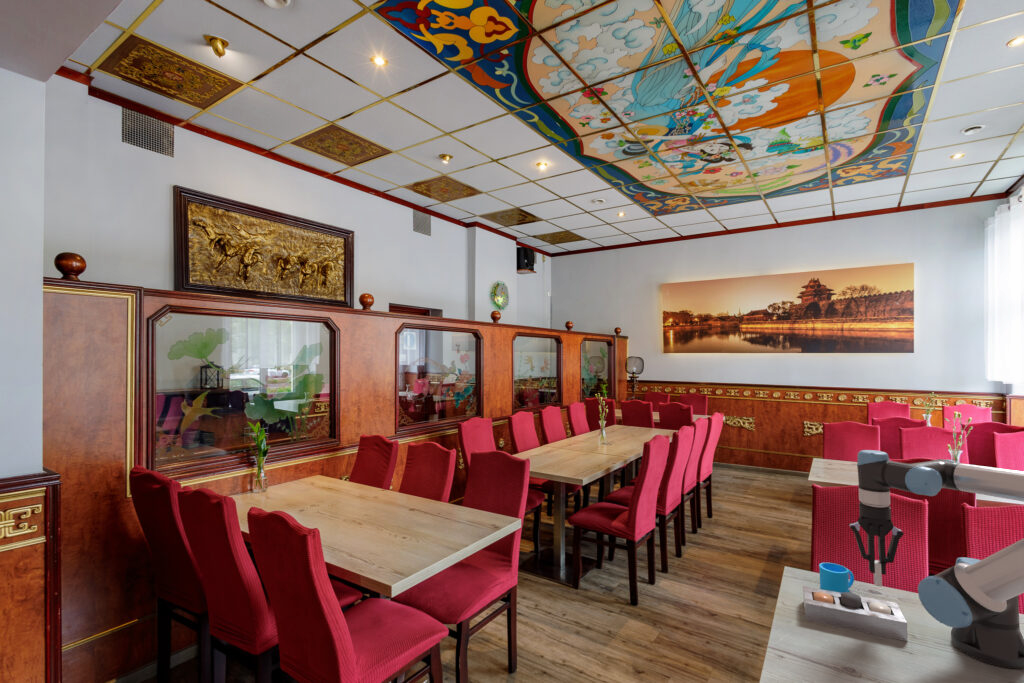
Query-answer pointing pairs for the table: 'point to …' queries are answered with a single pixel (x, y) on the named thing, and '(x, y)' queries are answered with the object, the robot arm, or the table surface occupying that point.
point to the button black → (850, 600)
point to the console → (855, 615)
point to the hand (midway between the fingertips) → (877, 584)
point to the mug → (835, 577)
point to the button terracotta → (823, 597)
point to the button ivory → (879, 608)
